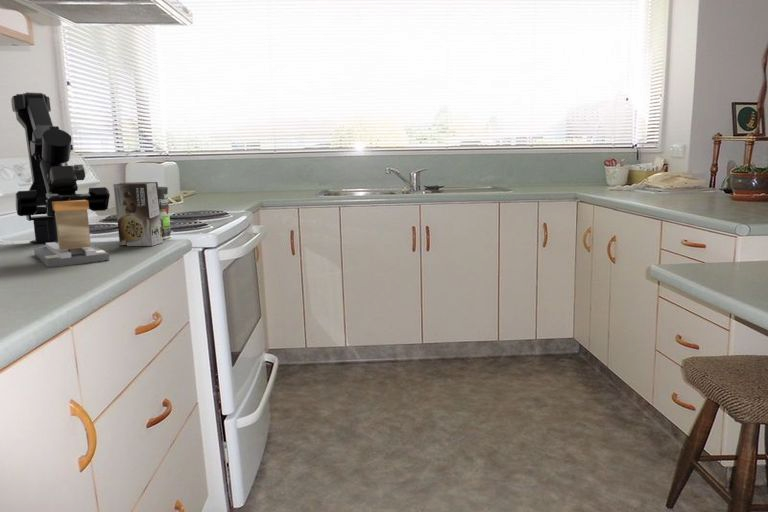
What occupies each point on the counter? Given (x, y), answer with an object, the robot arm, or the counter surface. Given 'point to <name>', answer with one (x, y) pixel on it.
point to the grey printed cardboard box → (138, 213)
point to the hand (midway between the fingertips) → (71, 229)
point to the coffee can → (164, 212)
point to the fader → (72, 225)
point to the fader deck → (69, 255)
